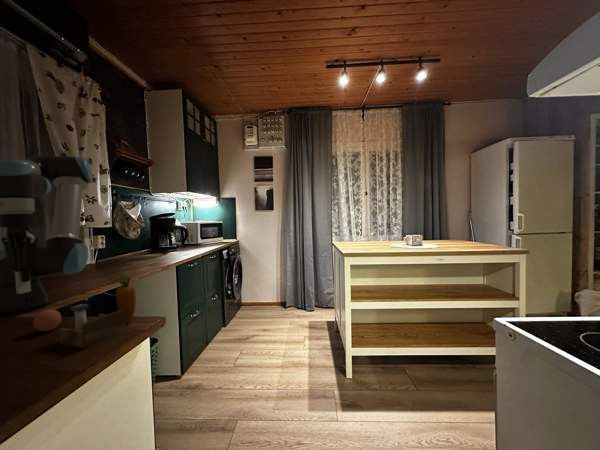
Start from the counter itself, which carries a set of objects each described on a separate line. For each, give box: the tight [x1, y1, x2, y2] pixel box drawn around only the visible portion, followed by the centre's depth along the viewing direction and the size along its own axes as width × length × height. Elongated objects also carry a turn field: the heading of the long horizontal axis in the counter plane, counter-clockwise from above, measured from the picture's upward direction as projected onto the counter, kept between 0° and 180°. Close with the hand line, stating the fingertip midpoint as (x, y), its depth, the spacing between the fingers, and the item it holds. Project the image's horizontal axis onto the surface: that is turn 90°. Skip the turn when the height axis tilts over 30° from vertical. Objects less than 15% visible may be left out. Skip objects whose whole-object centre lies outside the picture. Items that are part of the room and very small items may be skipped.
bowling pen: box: [58, 309, 127, 349], centre depth 74 cm, size 10×11×6 cm
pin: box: [70, 303, 90, 331], centre depth 76 cm, size 3×3×8 cm
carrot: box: [115, 274, 137, 325], centre depth 82 cm, size 5×5×15 cm
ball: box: [32, 309, 62, 332], centre depth 80 cm, size 6×6×6 cm
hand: (23, 292), depth 83 cm, fingers closed
